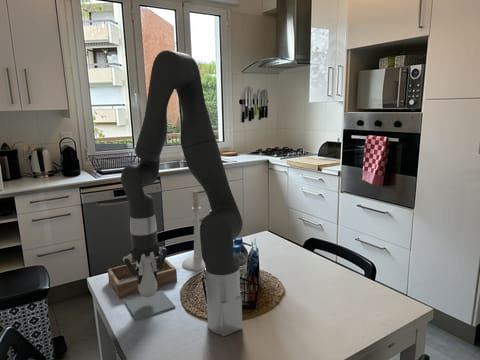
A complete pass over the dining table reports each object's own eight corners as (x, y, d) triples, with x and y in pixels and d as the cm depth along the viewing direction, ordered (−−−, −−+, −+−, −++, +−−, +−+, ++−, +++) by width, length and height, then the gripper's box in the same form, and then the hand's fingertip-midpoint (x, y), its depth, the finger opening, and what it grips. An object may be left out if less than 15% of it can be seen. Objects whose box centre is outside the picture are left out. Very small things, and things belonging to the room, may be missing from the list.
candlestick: (196, 274, 128) (192, 195, 122) (175, 264, 136) (171, 190, 130) (221, 263, 137) (219, 188, 131) (200, 254, 145) (197, 184, 140)
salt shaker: (138, 300, 104) (135, 259, 101) (138, 290, 109) (135, 252, 107) (158, 297, 105) (155, 257, 103) (157, 288, 111) (155, 249, 108)
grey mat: (175, 307, 106) (175, 306, 106) (136, 321, 100) (136, 319, 100) (161, 291, 116) (161, 289, 116) (124, 302, 110) (124, 301, 110)
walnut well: (177, 282, 122) (176, 268, 121) (119, 299, 112) (117, 285, 111) (162, 267, 134) (161, 255, 133) (108, 282, 123) (107, 269, 122)
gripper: (123, 238, 96) (128, 295, 100) (170, 228, 104) (173, 281, 107) (116, 231, 102) (121, 284, 106) (161, 222, 110) (164, 272, 113)
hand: (147, 283), depth 106 cm, fingers closed on salt shaker, 3 cm apart
